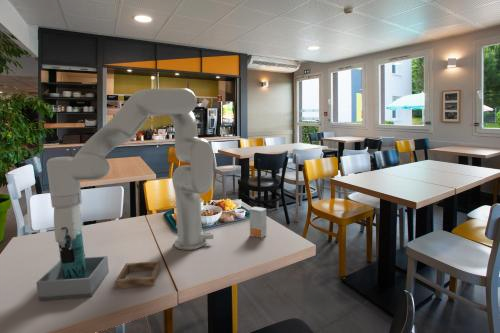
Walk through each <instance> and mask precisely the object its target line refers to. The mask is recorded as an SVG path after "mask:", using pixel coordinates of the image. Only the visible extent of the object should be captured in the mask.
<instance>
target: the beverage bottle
mask: <svg viewBox="0 0 500 333" xmlns="http://www.w3.org/2000/svg"><path fill="white" fill-rule="evenodd" d="M67 238H70V236H69V235H67V236H66V239H67ZM82 238H83V232H82V230H78V232H77V234H76V239H74V240H73V245H72V248H74V255H75V261H74V262H72V263H64V264H63V263H62V260H61V252H60V247H59V246H60V244H59V242H57V243H58V248H59V249H58V250H59V261H61V264H60V265H61V269H62V271H61V272H62V275H63V280H65V279H79V278H85V277H86V276H87V269H86V268H87V266H86V262H85V257H86V255H85V248H84V247H85V246H84V239H83V240H82ZM66 243H68V244H69V242H66Z"/></svg>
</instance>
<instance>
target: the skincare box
mask: <svg viewBox="0 0 500 333" xmlns="http://www.w3.org/2000/svg"><path fill="white" fill-rule="evenodd" d="M250 235H252V236H251V237H254V236H257V237H256V238H258V237H261V238H260V239H263V238H265V237H266V236H267V207H266V208H265V207H262V206H261V207H260V206H252V207H251V208H249V236H250ZM265 235H266V236H265ZM264 236H265V237H264ZM262 237H263V238H262Z"/></svg>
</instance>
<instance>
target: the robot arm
mask: <svg viewBox="0 0 500 333" xmlns="http://www.w3.org/2000/svg"><path fill="white" fill-rule="evenodd" d="M197 103H198V102H197V96H196V95H195V93H194V92H193V91H192V90H191V89H189V88H185V87H181V88H179V87H177V88H176V87H175V88H148V89H140V90H137V91H135V92H134V93H132V94H131V96H129V98H128V99H127V100H126V101H125V102H124V103H123V105H121V107H120V108H119V110H118V111H116V113H115V114H114V116H112V117H111V119H110V120H109V121H108V122H107V123H106V124H104V126H102V127H100V129H98V131H97V132H95V133H94V134H93V135H92V136H91V137H89V139H88V140H87V141H85V143H84V144H83V145H82V146H81V148H80V149H79V150H78V151H77V152H76V154H75V155H74V156H57V157H52V158H48V160H47V161H46V172H47V178H48V179H47V180H48V186H49V194H50V202H51V208H53V225H54V240H55V242H57V243H58V242H59V244H60V246H59V244H58V248H59V247H60V252H61V260H62V263H63V264H64V263H72V262H74V261H75V255H74V248H72V245H73V240H74V239H76V234H77V232H78V230H81V231H82V230H83V221H82V220H83V219H82V213H81V209H80V208H81V207H80V205H81V204H82V203H83V200H82V199H83V198H82V190H81V181H98V180H101V179H103V178H105V177H106V176H107V175H108V174H109V172H110V168H111V166H110V163H109V161H108V160H107V159H106V157H107V155H108V154H109V153H111V151H113V150H114V149H115V148H117V147H119V146H121V145H123V144H125V143H128V142H129V141H131V140H132V139H134V137H135V136H136V135H137V133H138V132H139V131H140V130H141V128H143V126H144V125H145V123H147V121H148V120H149V118H150V117H156V116H157V117H159V116H160V117H161V116H169V117H170V119H171V122H172V123H173V128H174V153H175V157H176V158H177V159H178V161H180V162H184V163H190V165H189V164H187V165H186V164H184V165H180V166H178V167H176V168H175V170H174V171H173V173H172V177H171V179H172V181H171V182H172V187H173V190H174V195H175V209H176V226H177V227H176V228H177V238H176V239H174V242H173V244H174V247H175V248H176V249H179V250H182V251H183V250H184V251H190V250H191V251H192V250H196V249H199V248H201V247H204V246H205V245H206V244H207V240H214V234H212V233H211V232H204V228H203V227H202V226H203V224H202V222H203V221H202V199H201V195H204V194H207V193H208V192H209V191H210V190H211V188H212V186H213V183H214V151H213V148H212V145H211V144H210V141H208V140H207V139H205V138H202V137H199V136H198V135H199V132H198V123H197V119H196V117H195V114H194V113H193V111H194V110H195V108H197ZM67 235H69V236H70V238H67V239H66V236H67ZM82 240H83V241H84V238H83V237H82ZM66 242H69V244H68V243H66ZM60 252H59V253H60Z"/></svg>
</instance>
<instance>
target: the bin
mask: <svg viewBox="0 0 500 333" xmlns="http://www.w3.org/2000/svg"><path fill="white" fill-rule="evenodd" d="M108 259H109V258H108V255H101V256H88V257H87V256H85V262H86V266H87V268H86V269H87V276H86V277H85V278H79V279H65V280H63V275H62V272H61V271H62V269H61V265H60V264H61V261H60V260H59V261H58V262H57V263H56V264H55V265H53V266H52V268H50V269H49V270H48V271H47V272H46V273H45V274H43V275H42V276H41V277H40V278H39V280H38V281H36V290H37V297H38V301H39V302H44V301H46V302H47V301H57V300H69V299H82V298H84V299H85V298H92V297H93V296H94V295H95V293H96V292H97V290H98V288H100V286H101V284H102V283H103V282H104V280H105V279H106V277H107V275H108V274H109V272H110V269H109V260H108Z"/></svg>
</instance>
